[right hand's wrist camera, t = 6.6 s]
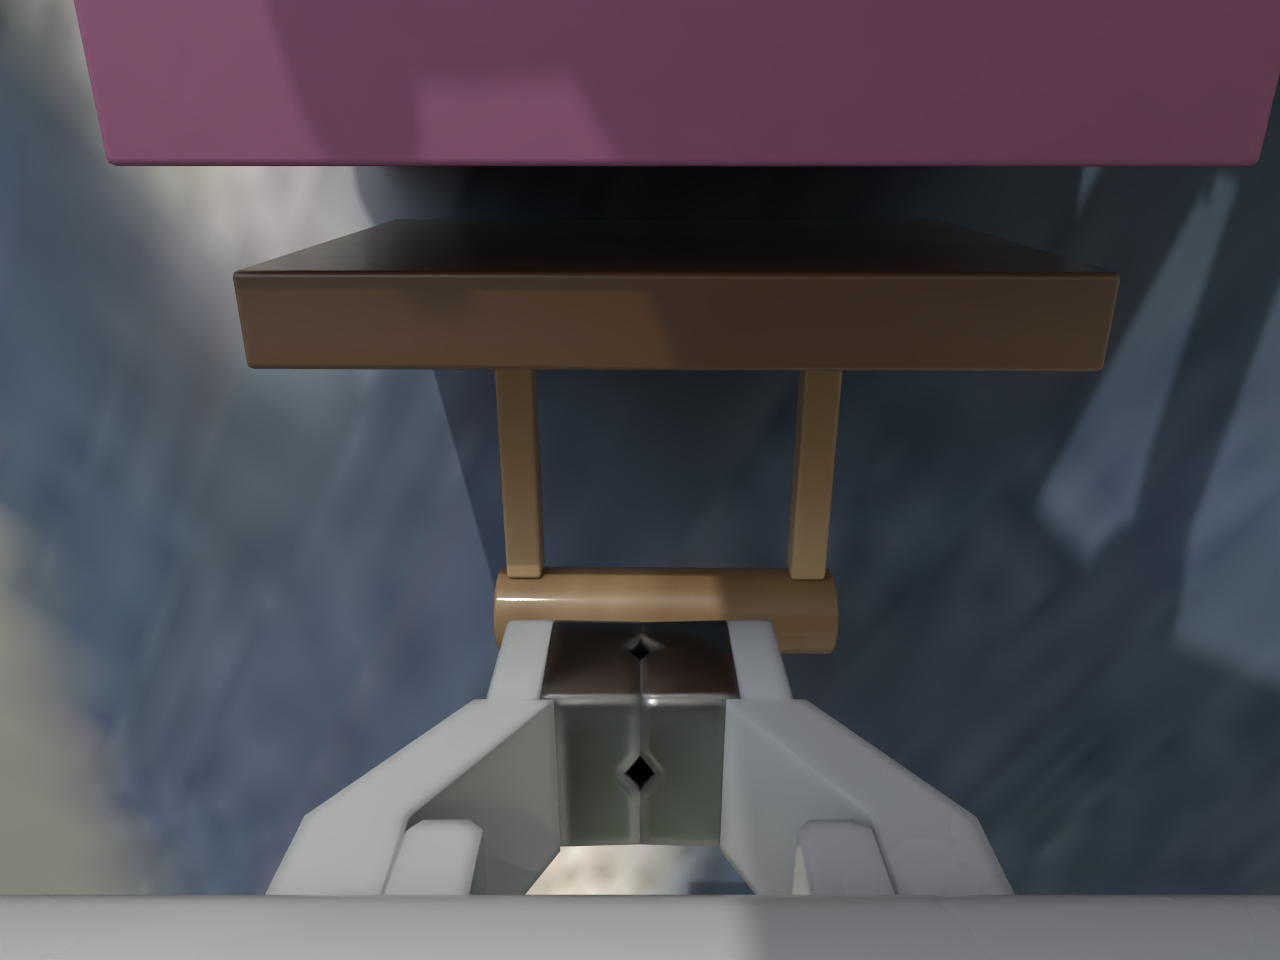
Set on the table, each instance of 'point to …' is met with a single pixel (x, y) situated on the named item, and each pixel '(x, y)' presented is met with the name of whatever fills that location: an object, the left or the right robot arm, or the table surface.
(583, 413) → the table surface
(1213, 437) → the table surface
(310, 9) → the cabinet
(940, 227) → the drawer
